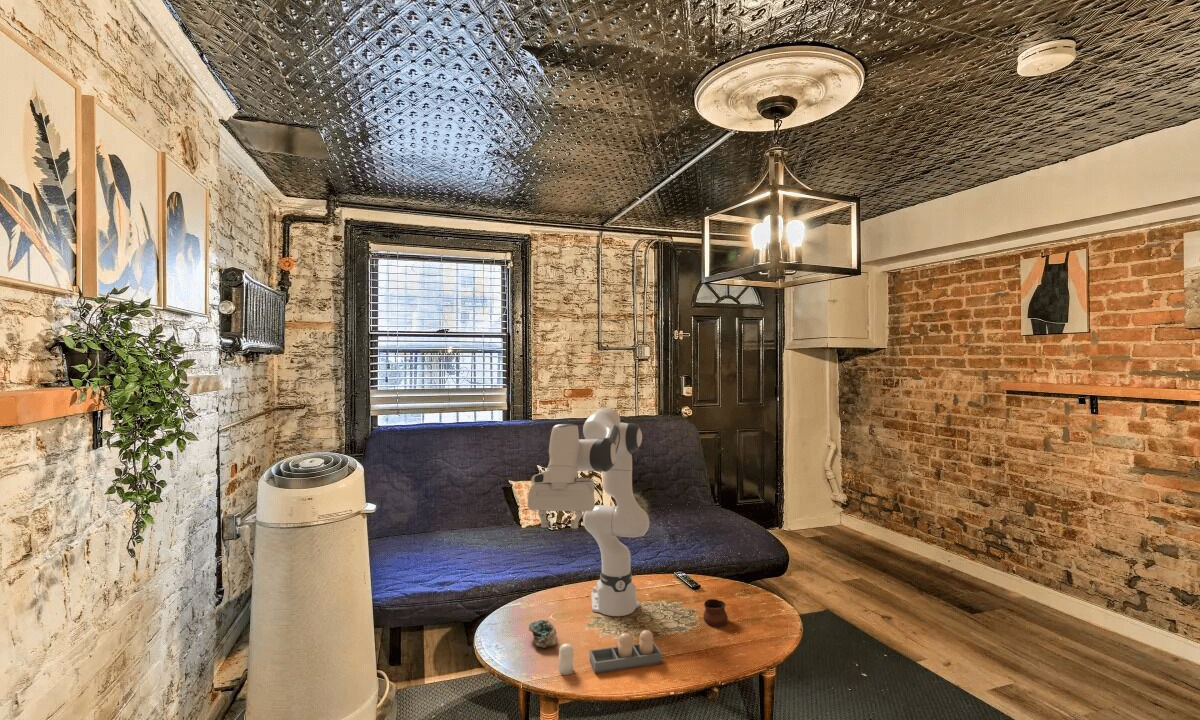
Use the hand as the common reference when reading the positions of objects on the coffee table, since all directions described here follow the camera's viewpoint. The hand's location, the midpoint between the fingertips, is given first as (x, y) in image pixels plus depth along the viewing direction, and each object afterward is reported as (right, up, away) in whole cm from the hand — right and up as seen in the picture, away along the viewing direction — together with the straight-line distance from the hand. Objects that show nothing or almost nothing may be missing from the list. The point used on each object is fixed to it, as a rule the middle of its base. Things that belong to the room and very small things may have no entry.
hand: (559, 527), depth 155 cm
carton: (+20, -48, +18) cm, 55 cm away
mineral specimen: (-7, -48, +31) cm, 58 cm away
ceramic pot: (+54, -48, +44) cm, 84 cm away
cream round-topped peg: (+1, -48, +14) cm, 50 cm away
